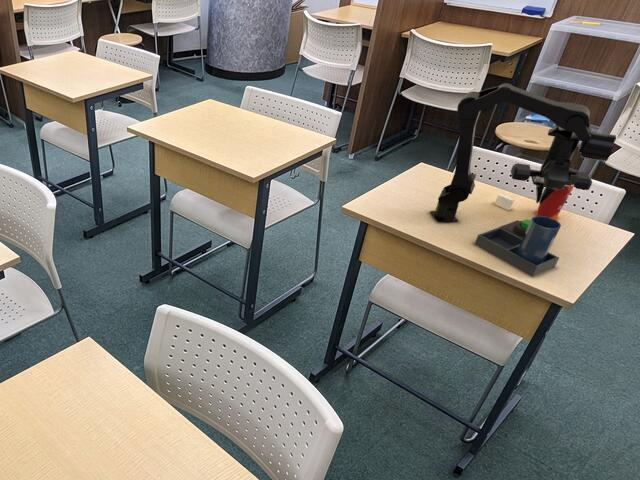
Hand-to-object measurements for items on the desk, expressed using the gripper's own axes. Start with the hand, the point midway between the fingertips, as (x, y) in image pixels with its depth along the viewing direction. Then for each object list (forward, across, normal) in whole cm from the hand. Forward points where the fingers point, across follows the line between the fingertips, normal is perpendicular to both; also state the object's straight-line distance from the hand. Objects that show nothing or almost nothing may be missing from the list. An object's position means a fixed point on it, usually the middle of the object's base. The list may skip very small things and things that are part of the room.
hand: (538, 202), depth 159 cm
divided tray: (+12, -4, -12) cm, 17 cm away
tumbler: (+11, 0, -15) cm, 19 cm away
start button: (+8, 0, 0) cm, 8 cm away
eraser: (+12, -5, +18) cm, 23 cm away
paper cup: (+12, +8, +17) cm, 23 cm away
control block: (+12, 0, 0) cm, 12 cm away
